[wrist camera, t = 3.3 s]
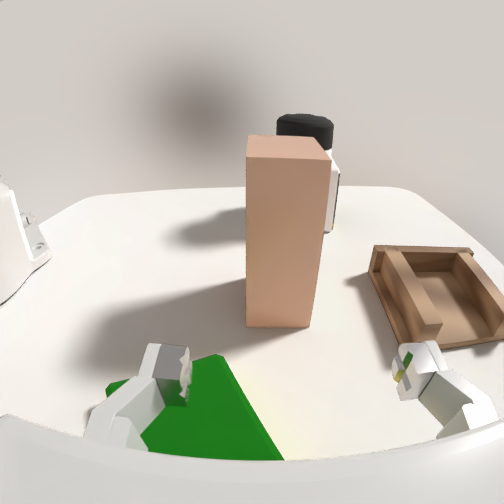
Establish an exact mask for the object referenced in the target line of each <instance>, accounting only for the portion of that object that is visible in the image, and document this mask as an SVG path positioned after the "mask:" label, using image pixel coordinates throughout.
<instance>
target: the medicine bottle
mask: <svg viewBox="0 0 504 504" xmlns="http://www.w3.org/2000/svg"><path fill="white" fill-rule="evenodd" d="M333 129H334V125H333V123H332V122H331V121H330V120H328V119H327V118H325V117H322V116H318V115H311V114H286V115H284V116H281V117H279V119H278V120H277V132H276V135H278V136H302V137H314V138H315V140H316V141H317V142H318V143H319V144H320V146H321V147H322V148H323V149H324V151H325V152H326V153H327V155H328V156H329V157H330V158H331V160H332V166H331V176H330V185H329V194H328V203H327V212H326V220H325V228H324V231H325V232H331V231H332V230H333V224H334V217H335V210H336V202H337V194H338V186H339V176H340V171H339V169H338V167H337V166H336V164H335V162H334V160H333V159H332V157H331V152H332V140H333Z"/></svg>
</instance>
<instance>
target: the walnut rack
mask: <svg viewBox="0 0 504 504" xmlns="http://www.w3.org/2000/svg"><path fill="white" fill-rule="evenodd" d="M473 254H474V253H473V251H472V250H471V249H470V248H463V247H428V246H390V245H374V248H373V252H372V257H371V261H370V265H369V269H368V273H369V275H370V277H371V279H372V281H373V284H374V286H375V288H376V290H377V293H378V295H379V297H380V299H381V302H382V304H383V306H384V309H385V311H386V313H387V316H388V318H389V320H390V323H391V325H392V328H393V330H394V333H395V335H396V338H397V340H398V343H399V345H401V344H402V343H411V342H420V341H431V340H434V341H436V343H437V345H438V347H439V349H440V350H441V349H448V348H455V347H461V346H467V345H473V344H479V343H485V342H490V341H496V340H501V339H504V296H503V294H502V293H501V292H500V291H499V289H498V288H497V287H496V285H495V284H494V283H493V282H492V280H491V279H490V278H489V277H488V275H487V274H486V273H485V272H484V270H483V269H482V268H481V267H480V266H479V264H478V263H477V262H476V261H475V260H474V259H473Z"/></svg>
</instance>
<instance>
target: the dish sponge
mask: <svg viewBox="0 0 504 504" xmlns="http://www.w3.org/2000/svg"><path fill="white" fill-rule="evenodd" d="M192 369H193V370H192V381H191V384H190V385H189V386H188V388H189V399H188V405H187V407H179V406H166V405H165V406H166V407H165V408H164V409H163V410H162V411H161V412H160V413H159V415H158V416H157V417H156V418H155V419H154V420H153V421H152V422H151V423H150V425H149V426H148V427H147V428H146V429H145V430H144V431H143V432H142V433H141V434H140V437H141V438H142V440H143V441H144V443H145V445H146V446H147V448H148V452H155V453H162V454H169V455H177V456H186V457H196V458H207V459H222V460H248V461H279V460H284V459H283V457H282V455H281V454H280V452H279V451H278V449H277V447H276V446H275V444H274V443H273V441H272V439H271V438H270V436H269V435H268V433H267V431H266V430H265V428H264V426H263V425H262V423H261V421H260V420H259V418H258V416H257V415H256V413H255V411H254V410H253V408H252V406H251V405H250V403H249V401H248V399H247V398H246V396H245V394H244V393H243V391H242V389H241V387H240V386H239V384H238V382H237V380H236V379H235V377H234V375H233V373H232V371H231V370H230V368H229V366H228V364H227V362H226V361H225V359H224V357H223V356H220V355H217V354H215V355H211V356H208V357H205V358H202V359H198V360H195V361H192ZM128 380H130V379H127V380H123V381H119V382H115V383H111V384H109V386H108V387H107V388H106V389H105V390H106V395H107V398H108V397H109V396H110V395H111V394H113V393H114V392H115V391H116V390H117V389H119V388H120V387H121V386H122V385H123V384H125V383H126V382H127V381H128Z"/></svg>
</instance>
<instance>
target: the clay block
mask: <svg viewBox="0 0 504 504" xmlns="http://www.w3.org/2000/svg"><path fill="white" fill-rule="evenodd" d="M331 166H332V160H331V158H330V157H329V156H328V155H327V153H326V152H325V151H324V149H323V148H322V147H321V146H320V144H319V143H318V142H317V141H316V140H315V138H314V137H302V136H278V135H249V138H248V145H247V153H246V327H264V328H301V327H309V326H310V320H311V315H312V309H313V303H314V297H315V290H316V284H317V278H318V271H319V264H320V257H321V250H322V243H323V235H324V228H325V220H326V212H327V203H328V194H329V185H330V176H331Z"/></svg>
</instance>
